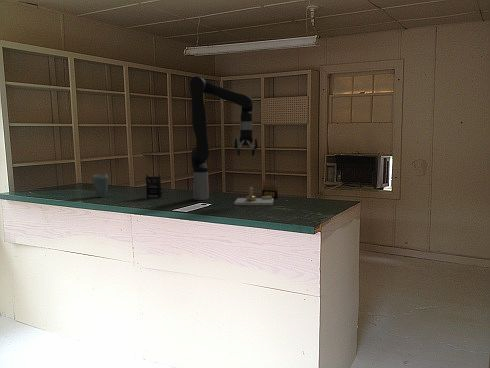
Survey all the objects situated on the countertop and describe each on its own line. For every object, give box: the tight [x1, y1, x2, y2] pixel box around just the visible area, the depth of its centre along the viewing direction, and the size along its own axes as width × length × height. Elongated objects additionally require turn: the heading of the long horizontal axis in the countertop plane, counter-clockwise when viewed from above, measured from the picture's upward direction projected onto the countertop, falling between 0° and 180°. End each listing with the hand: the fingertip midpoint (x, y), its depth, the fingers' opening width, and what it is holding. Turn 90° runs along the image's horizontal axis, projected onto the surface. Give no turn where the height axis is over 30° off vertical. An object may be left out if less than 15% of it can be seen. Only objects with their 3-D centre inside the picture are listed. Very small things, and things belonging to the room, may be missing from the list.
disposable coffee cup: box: [91, 173, 109, 198], centre depth 288 cm, size 11×11×15 cm
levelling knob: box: [245, 186, 257, 200], centre depth 259 cm, size 9×6×7 cm
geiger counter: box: [145, 174, 163, 199], centre depth 283 cm, size 10×4×15 cm, turn 84°
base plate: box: [233, 195, 275, 206], centre depth 259 cm, size 22×15×3 cm
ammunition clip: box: [261, 178, 279, 200], centre depth 276 cm, size 11×2×12 cm, turn 63°
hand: (246, 155), depth 268 cm, fingers open, 8 cm apart
